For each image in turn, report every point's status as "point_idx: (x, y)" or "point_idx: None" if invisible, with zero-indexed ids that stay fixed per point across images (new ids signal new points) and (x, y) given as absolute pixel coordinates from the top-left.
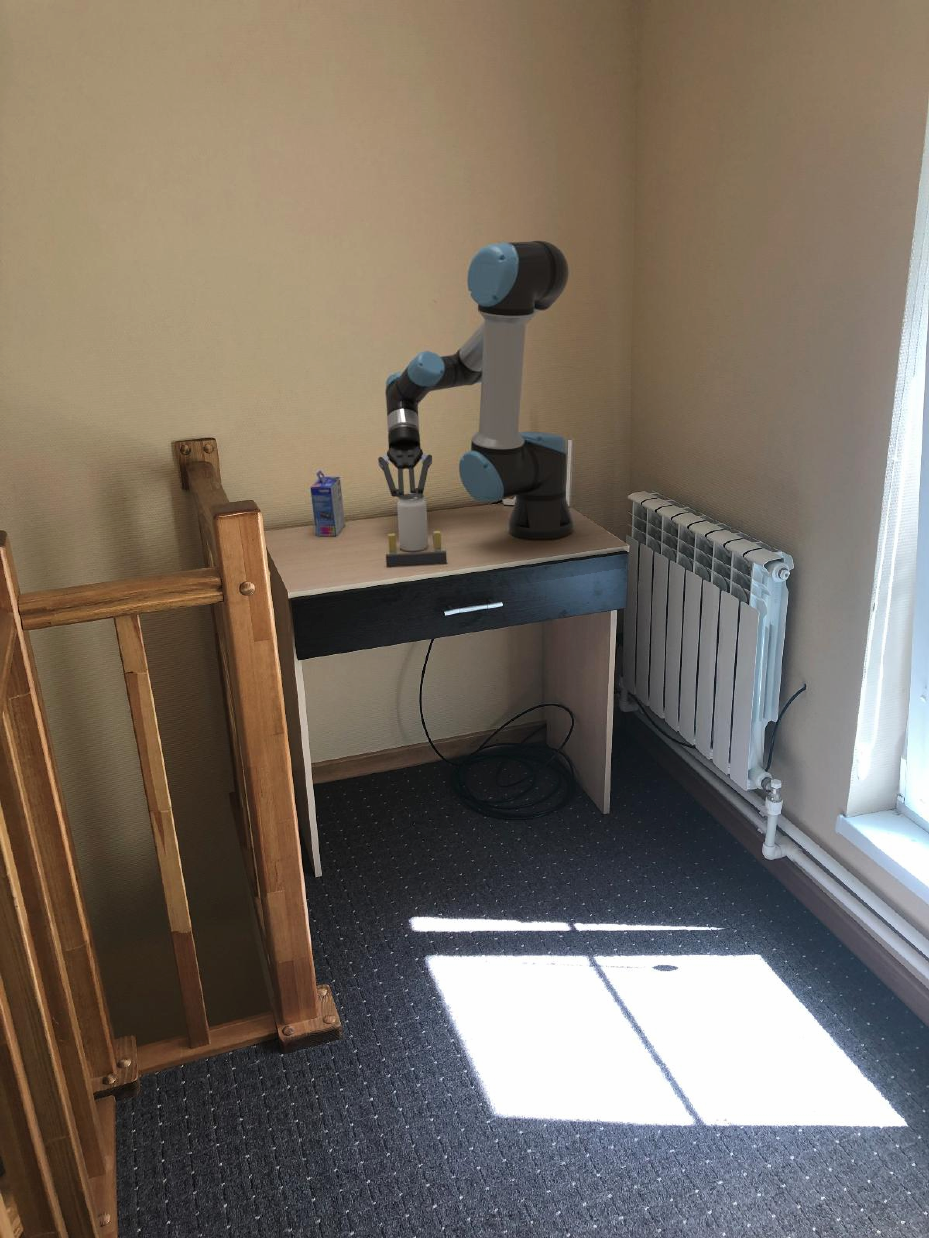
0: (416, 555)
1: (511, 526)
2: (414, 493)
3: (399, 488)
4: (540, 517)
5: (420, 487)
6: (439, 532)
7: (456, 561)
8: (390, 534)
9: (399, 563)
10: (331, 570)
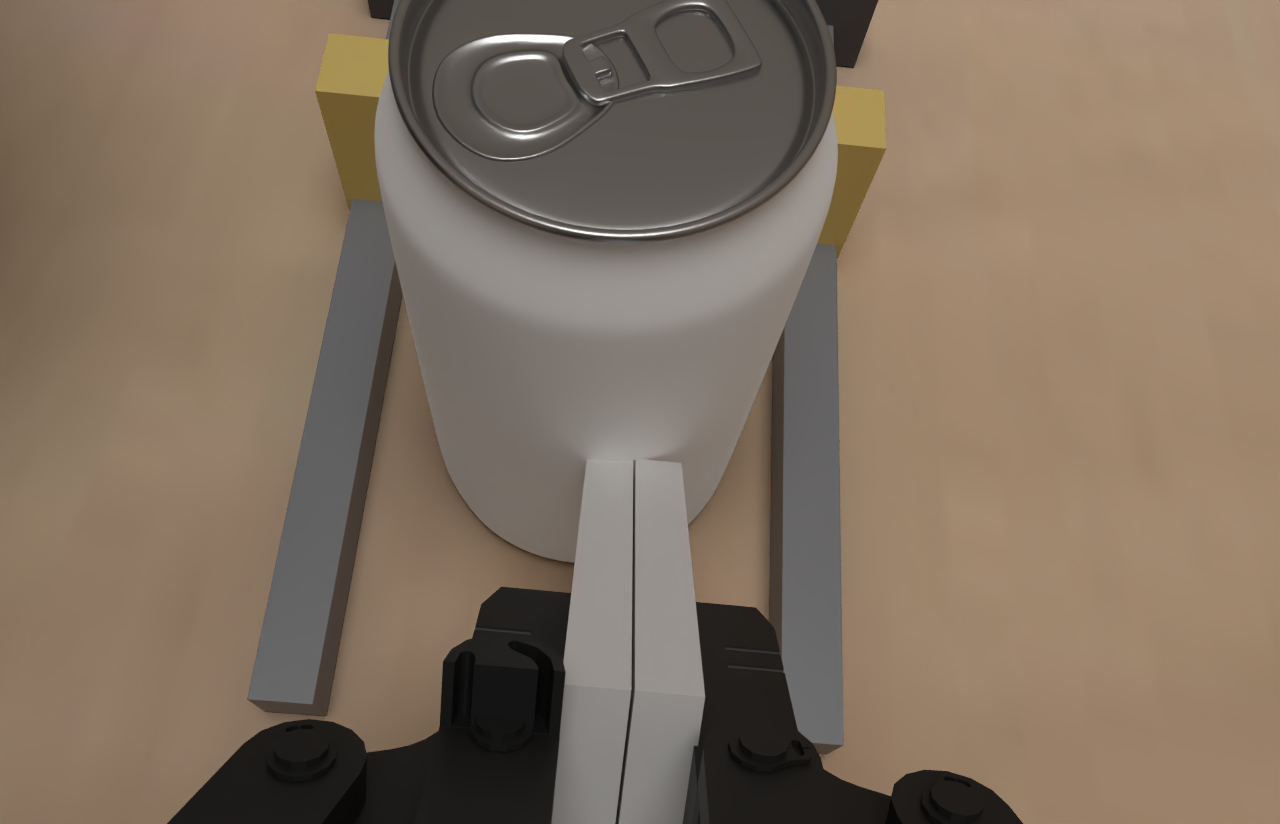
0: None
1: None
2: (530, 214)
3: (810, 803)
4: None
5: (296, 744)
6: (337, 46)
7: (288, 8)
8: (863, 122)
9: None
10: (1268, 76)
